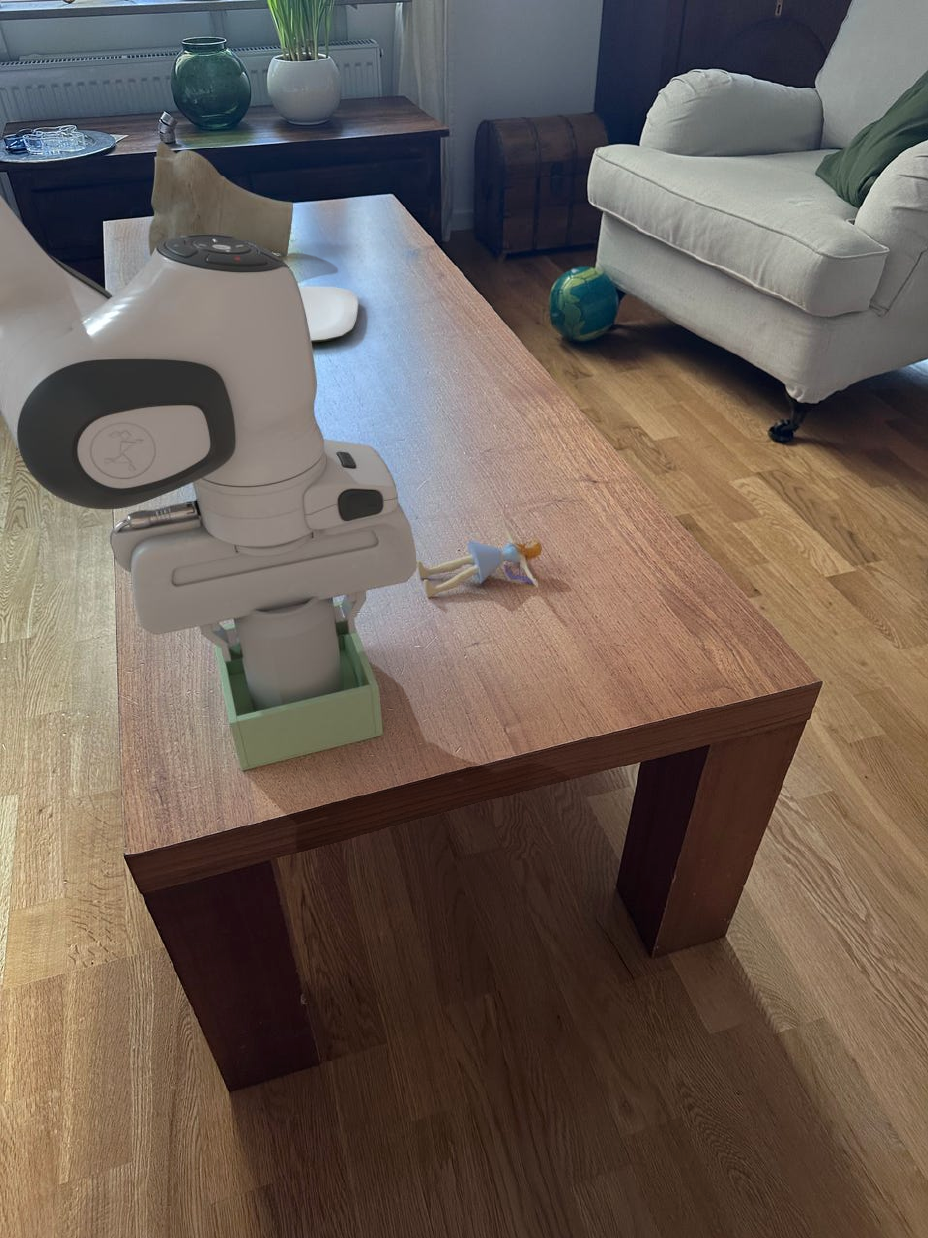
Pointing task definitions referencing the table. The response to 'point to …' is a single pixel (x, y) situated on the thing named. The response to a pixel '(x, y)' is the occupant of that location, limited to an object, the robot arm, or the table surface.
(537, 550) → the fairy figurine
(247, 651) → the can
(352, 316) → the plate
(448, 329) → the table surface
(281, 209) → the vase
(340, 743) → the bin
